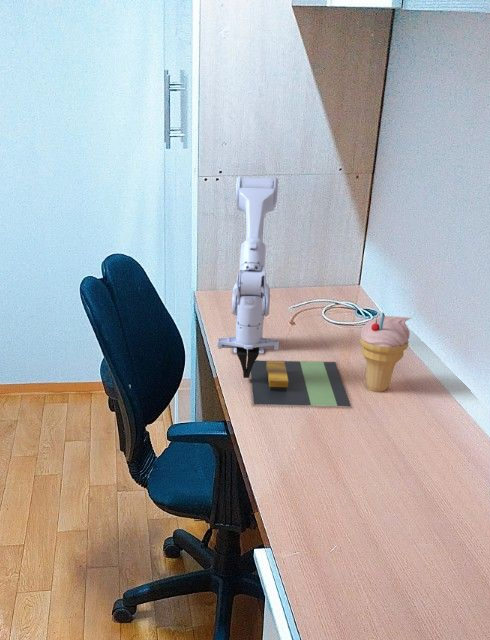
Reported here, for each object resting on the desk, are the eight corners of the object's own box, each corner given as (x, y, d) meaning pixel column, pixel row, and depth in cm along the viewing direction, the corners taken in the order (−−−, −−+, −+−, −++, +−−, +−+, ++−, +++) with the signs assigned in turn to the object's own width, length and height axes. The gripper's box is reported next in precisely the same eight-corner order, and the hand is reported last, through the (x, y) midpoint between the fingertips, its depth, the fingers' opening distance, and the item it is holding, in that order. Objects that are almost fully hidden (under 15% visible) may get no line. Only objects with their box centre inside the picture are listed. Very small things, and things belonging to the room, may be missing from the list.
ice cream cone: (401, 399, 170) (415, 316, 160) (353, 395, 172) (364, 312, 161) (399, 380, 179) (412, 301, 169) (353, 377, 181) (364, 297, 171)
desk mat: (249, 361, 189) (249, 360, 189) (334, 363, 189) (334, 362, 188) (254, 405, 167) (254, 404, 167) (350, 407, 166) (350, 406, 166)
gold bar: (265, 371, 183) (266, 361, 182) (283, 371, 183) (284, 361, 181) (268, 391, 173) (269, 380, 171) (287, 392, 173) (288, 381, 171)
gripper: (217, 327, 167) (216, 382, 174) (281, 328, 167) (277, 383, 174) (218, 317, 173) (216, 370, 180) (279, 318, 173) (275, 371, 180)
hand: (246, 376), depth 177 cm, fingers closed
